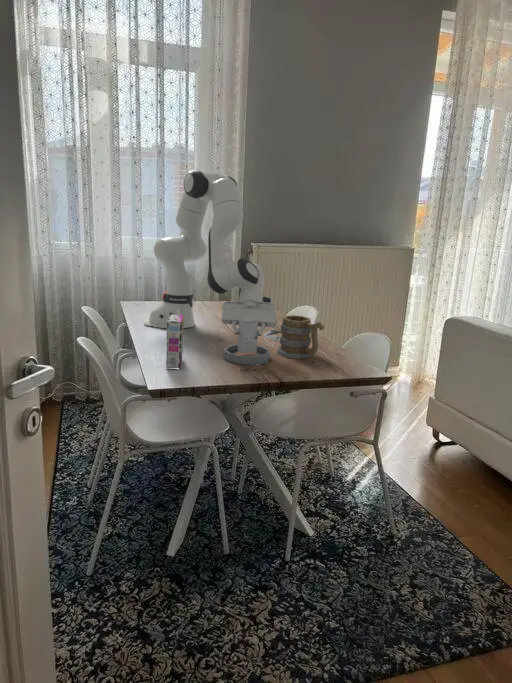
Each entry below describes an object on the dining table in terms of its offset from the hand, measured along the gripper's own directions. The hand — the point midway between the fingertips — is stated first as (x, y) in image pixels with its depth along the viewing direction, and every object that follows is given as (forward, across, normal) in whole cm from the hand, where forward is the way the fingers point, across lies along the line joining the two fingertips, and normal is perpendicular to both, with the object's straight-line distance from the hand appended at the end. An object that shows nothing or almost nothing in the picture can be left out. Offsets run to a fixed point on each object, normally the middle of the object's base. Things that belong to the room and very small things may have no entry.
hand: (247, 334), depth 186 cm
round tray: (+6, 0, +7) cm, 9 cm away
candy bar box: (+15, -24, -2) cm, 29 cm away
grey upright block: (+4, 0, +5) cm, 7 cm away
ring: (-19, +15, +33) cm, 41 cm away
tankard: (+1, +20, +12) cm, 23 cm away
